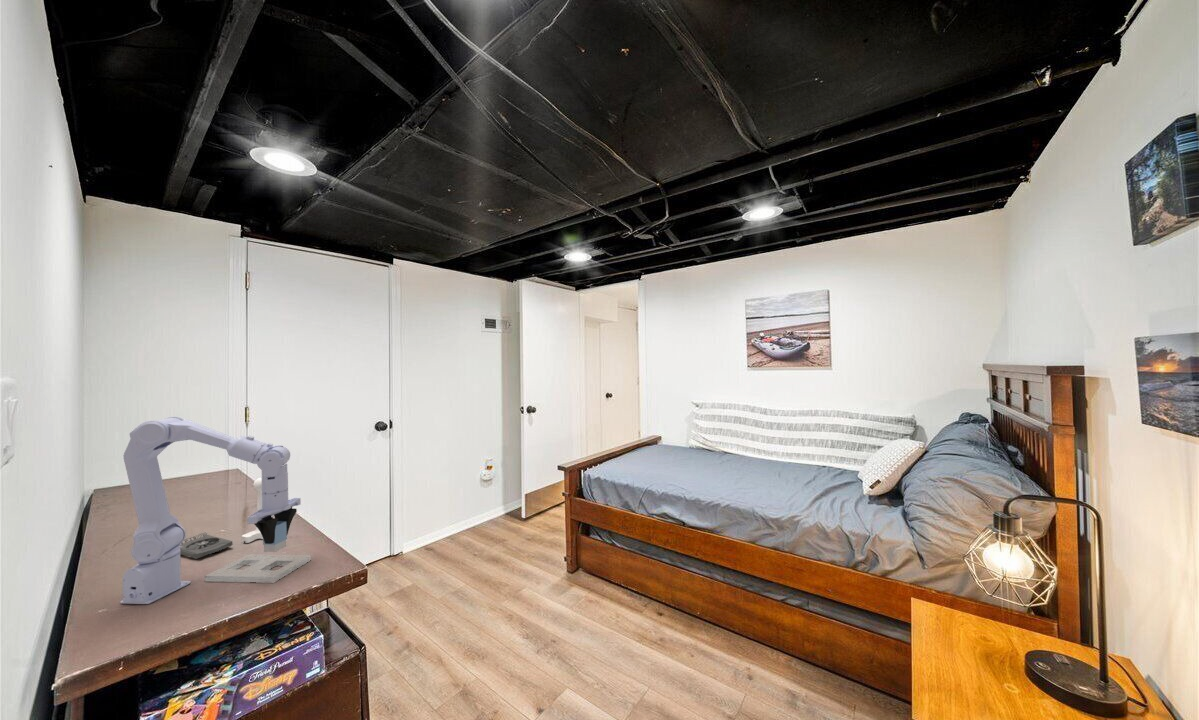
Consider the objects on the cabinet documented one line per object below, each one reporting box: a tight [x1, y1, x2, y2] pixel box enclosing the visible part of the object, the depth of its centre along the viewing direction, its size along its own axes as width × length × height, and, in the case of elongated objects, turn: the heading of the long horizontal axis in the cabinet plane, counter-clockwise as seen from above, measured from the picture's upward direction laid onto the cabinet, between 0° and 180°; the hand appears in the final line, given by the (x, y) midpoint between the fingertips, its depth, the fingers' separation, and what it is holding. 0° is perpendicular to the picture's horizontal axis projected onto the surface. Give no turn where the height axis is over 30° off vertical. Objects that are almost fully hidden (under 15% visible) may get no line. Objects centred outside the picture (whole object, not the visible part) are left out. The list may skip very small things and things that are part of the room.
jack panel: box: [204, 553, 312, 584], centre depth 111 cm, size 12×20×2 cm, turn 85°
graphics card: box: [180, 532, 234, 559], centre depth 123 cm, size 17×4×12 cm
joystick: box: [241, 476, 263, 544], centre depth 134 cm, size 11×8×20 cm
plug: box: [262, 521, 288, 553], centre depth 111 cm, size 4×4×7 cm
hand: (276, 539), depth 111 cm, fingers closed on plug, 4 cm apart
